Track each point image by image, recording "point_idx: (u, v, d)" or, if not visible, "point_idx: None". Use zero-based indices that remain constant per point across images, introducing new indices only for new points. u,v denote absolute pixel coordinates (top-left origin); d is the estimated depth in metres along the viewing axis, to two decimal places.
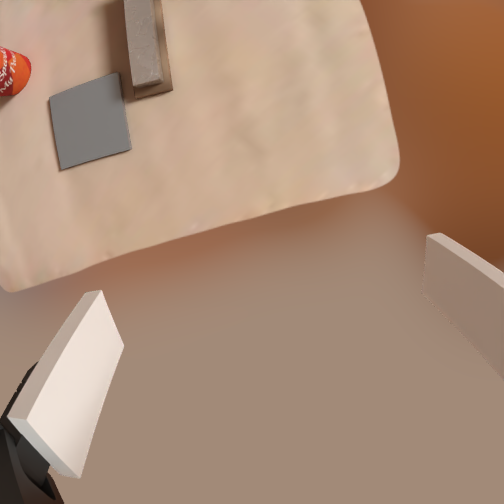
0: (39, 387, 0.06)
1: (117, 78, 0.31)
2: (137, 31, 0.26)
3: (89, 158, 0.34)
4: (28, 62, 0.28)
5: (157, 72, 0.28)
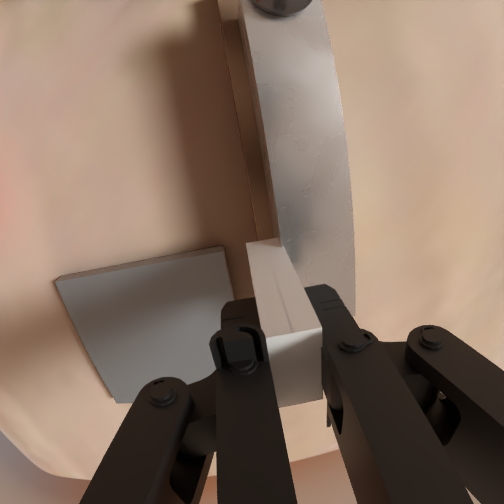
0: (281, 308, 0.08)
1: (223, 266, 0.16)
2: (306, 179, 0.11)
3: None
4: None
5: (353, 302, 0.14)
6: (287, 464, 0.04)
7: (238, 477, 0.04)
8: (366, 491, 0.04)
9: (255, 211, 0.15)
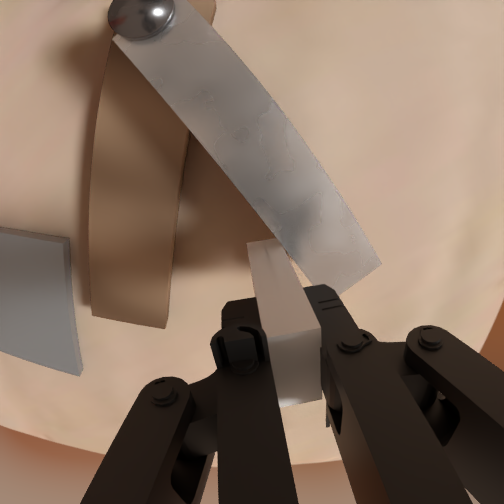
0: (282, 307, 0.08)
1: (61, 257, 0.15)
2: (262, 164, 0.11)
3: (17, 354, 0.18)
4: None
5: (372, 252, 0.13)
6: (288, 464, 0.04)
7: (239, 477, 0.04)
8: (365, 491, 0.04)
9: (89, 217, 0.14)
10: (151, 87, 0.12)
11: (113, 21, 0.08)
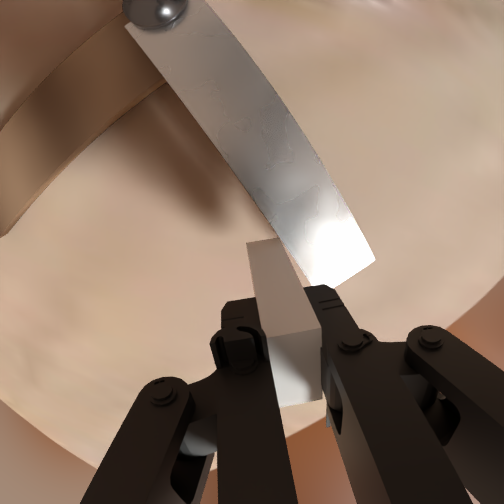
0: (282, 307, 0.08)
1: None
2: (263, 155, 0.11)
3: None
4: None
5: (366, 247, 0.13)
6: (288, 464, 0.04)
7: (239, 477, 0.04)
8: (365, 491, 0.04)
9: (12, 117, 0.12)
10: (122, 62, 0.12)
11: (127, 9, 0.08)
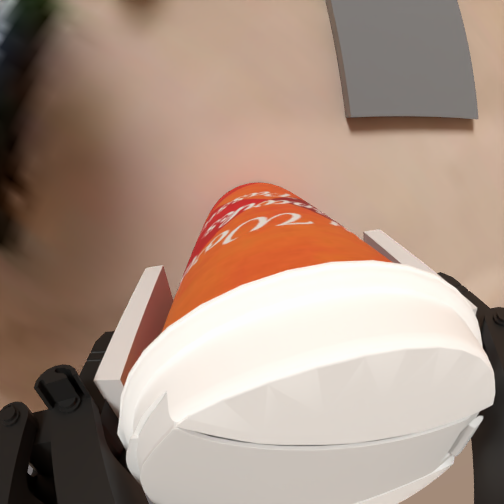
0: (126, 349, 0.07)
1: None
2: None
3: (467, 56, 0.14)
4: (239, 187, 0.17)
5: None
6: (110, 491, 0.04)
7: None
8: (492, 449, 0.04)
9: None
10: None
11: None
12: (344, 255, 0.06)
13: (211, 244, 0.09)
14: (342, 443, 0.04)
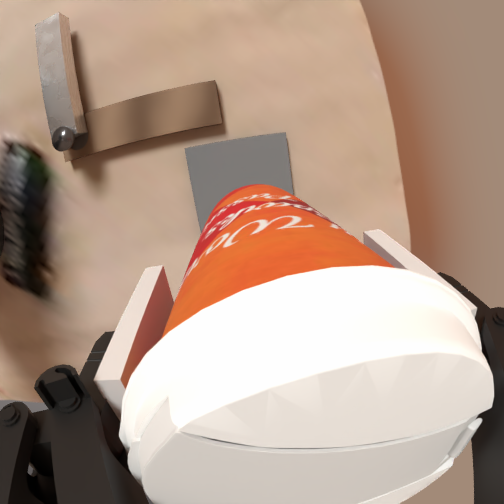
0: (126, 349, 0.07)
1: (193, 148, 0.30)
2: (53, 68, 0.22)
3: (289, 186, 0.32)
4: (239, 188, 0.17)
5: (36, 30, 0.20)
6: (110, 491, 0.04)
7: None
8: (492, 450, 0.04)
9: (162, 134, 0.28)
10: (98, 127, 0.27)
11: (70, 137, 0.24)
12: (344, 260, 0.06)
13: (212, 247, 0.09)
14: (342, 446, 0.04)
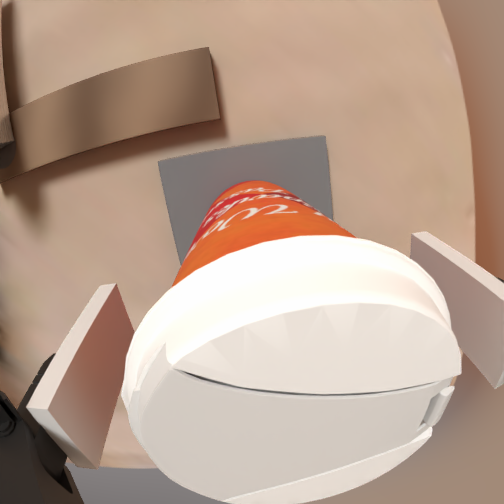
0: (59, 377, 0.06)
1: (171, 160, 0.18)
2: None
3: None
4: (236, 184, 0.18)
5: None
6: None
7: None
8: None
9: (121, 138, 0.16)
10: (29, 132, 0.15)
11: None
12: None
13: (208, 232, 0.10)
14: (314, 393, 0.05)
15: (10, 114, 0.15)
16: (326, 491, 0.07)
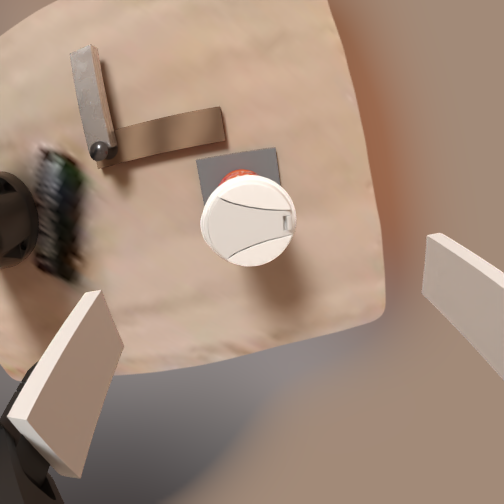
0: (39, 387, 0.06)
1: (202, 159, 0.38)
2: (89, 93, 0.31)
3: None
4: (233, 171, 0.38)
5: (71, 58, 0.28)
6: None
7: None
8: None
9: (178, 148, 0.37)
10: (126, 141, 0.36)
11: (106, 150, 0.33)
12: None
13: (223, 182, 0.30)
14: (248, 206, 0.26)
15: (114, 131, 0.35)
16: (260, 258, 0.27)
